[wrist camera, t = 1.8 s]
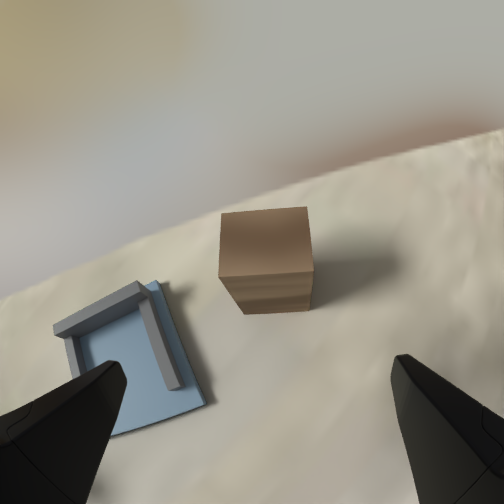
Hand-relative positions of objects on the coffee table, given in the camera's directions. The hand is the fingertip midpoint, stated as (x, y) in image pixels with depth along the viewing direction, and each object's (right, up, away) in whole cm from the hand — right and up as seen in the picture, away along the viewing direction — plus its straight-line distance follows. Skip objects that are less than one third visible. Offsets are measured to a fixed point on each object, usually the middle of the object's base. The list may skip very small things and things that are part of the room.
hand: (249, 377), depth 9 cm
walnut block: (+2, +1, +15) cm, 15 cm away
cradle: (-11, -6, +14) cm, 18 cm away
